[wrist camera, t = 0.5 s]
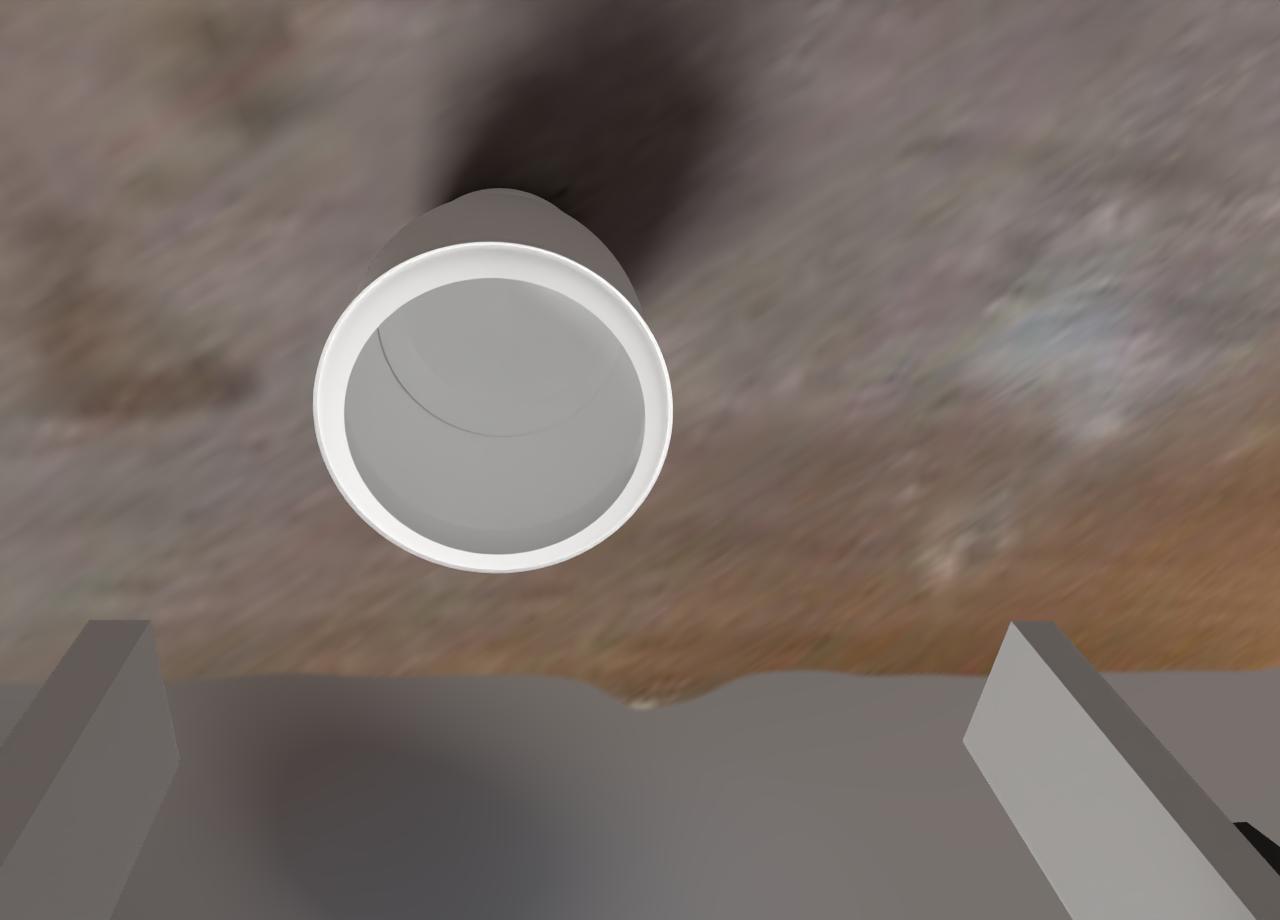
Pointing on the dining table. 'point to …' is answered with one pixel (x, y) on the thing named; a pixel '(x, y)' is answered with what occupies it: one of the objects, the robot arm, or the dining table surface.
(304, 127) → the dining table surface
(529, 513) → the jar
